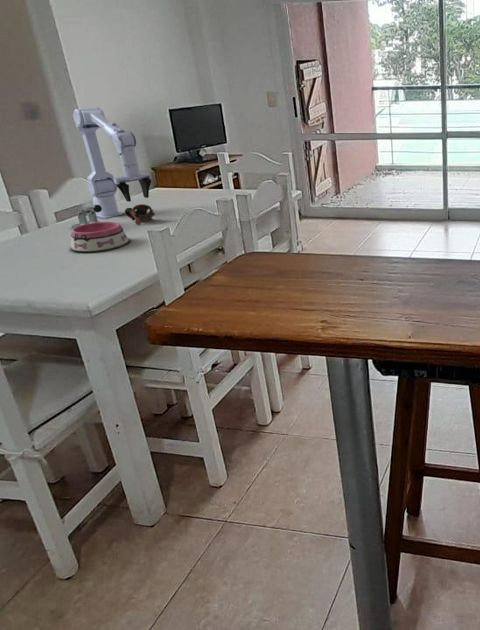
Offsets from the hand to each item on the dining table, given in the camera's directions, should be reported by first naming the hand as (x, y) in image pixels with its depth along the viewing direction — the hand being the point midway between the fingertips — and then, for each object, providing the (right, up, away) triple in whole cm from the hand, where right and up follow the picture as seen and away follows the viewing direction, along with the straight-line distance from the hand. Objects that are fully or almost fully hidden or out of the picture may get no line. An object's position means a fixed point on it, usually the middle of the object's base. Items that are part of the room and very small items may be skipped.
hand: (137, 199), depth 228 cm
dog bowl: (-2, -21, -23) cm, 31 cm away
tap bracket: (-20, -11, +2) cm, 23 cm away
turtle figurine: (-2, -8, +7) cm, 11 cm away
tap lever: (-16, -7, -3) cm, 17 cm away
